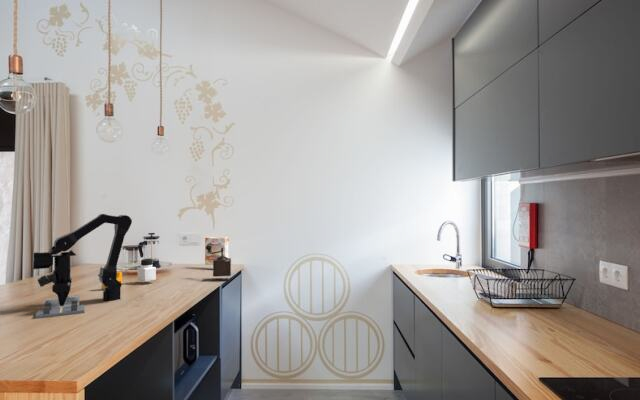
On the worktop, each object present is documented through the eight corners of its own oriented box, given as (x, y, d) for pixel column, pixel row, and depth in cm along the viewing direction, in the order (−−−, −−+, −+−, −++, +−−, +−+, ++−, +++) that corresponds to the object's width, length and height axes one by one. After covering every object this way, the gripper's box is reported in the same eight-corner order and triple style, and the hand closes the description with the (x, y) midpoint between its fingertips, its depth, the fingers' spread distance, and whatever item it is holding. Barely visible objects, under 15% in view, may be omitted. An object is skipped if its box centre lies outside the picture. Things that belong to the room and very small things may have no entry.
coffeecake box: (204, 265, 278) (204, 237, 278) (209, 263, 285) (209, 236, 285) (224, 265, 276) (224, 237, 276) (228, 264, 283) (228, 236, 283)
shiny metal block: (78, 303, 172) (78, 294, 172) (79, 305, 169) (79, 296, 169) (44, 308, 165) (44, 298, 165) (45, 310, 162) (45, 300, 162)
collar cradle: (84, 307, 166) (84, 298, 166) (84, 312, 157) (84, 303, 157) (37, 312, 158) (37, 303, 158) (35, 318, 149) (35, 309, 149)
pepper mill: (231, 272, 247) (231, 244, 247) (230, 276, 236) (230, 246, 236) (205, 273, 244) (205, 244, 244) (203, 277, 233) (203, 246, 234)
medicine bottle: (156, 279, 225) (156, 258, 225) (144, 281, 219) (144, 260, 219) (148, 278, 229) (148, 257, 229) (137, 280, 223) (137, 259, 223)
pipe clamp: (114, 283, 215) (114, 271, 215) (122, 284, 214) (122, 272, 214) (98, 288, 203) (99, 275, 203) (106, 288, 202) (106, 276, 202)
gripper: (41, 265, 171) (41, 301, 171) (36, 271, 155) (36, 311, 155) (71, 263, 177) (71, 298, 176) (70, 269, 161) (70, 307, 160)
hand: (62, 303), depth 167 cm, fingers open, 8 cm apart
